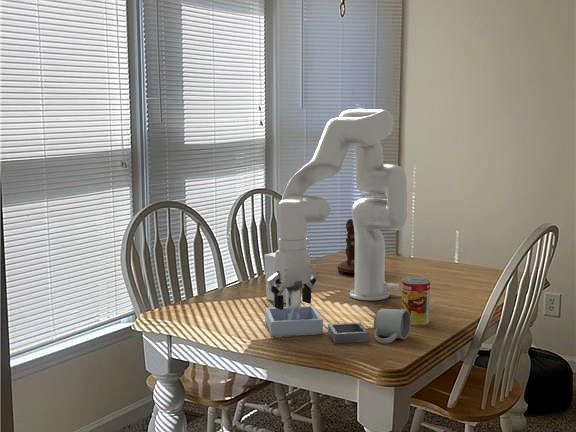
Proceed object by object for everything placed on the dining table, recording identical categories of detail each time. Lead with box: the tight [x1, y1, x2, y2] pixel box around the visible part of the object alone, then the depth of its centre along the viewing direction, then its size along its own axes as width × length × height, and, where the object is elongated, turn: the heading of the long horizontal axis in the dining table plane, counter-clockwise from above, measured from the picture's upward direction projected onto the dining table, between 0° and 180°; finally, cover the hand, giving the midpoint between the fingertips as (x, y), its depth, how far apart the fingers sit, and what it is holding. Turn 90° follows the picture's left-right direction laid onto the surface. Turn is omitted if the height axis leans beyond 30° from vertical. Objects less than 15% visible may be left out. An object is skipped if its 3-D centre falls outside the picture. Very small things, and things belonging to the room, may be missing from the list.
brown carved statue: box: [337, 218, 355, 274], centre depth 272 cm, size 15×15×20 cm
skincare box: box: [263, 251, 286, 304], centre depth 236 cm, size 8×6×15 cm
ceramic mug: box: [373, 308, 412, 344], centre depth 198 cm, size 11×8×8 cm
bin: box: [264, 305, 324, 337], centre depth 208 cm, size 14×14×4 cm
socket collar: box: [327, 322, 370, 345], centre depth 199 cm, size 9×9×2 cm
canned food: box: [401, 276, 431, 326], centre depth 212 cm, size 8×8×12 cm
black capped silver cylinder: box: [285, 280, 303, 320], centre depth 208 cm, size 5×5×13 cm
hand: (293, 305), depth 208 cm, fingers open, 9 cm apart
